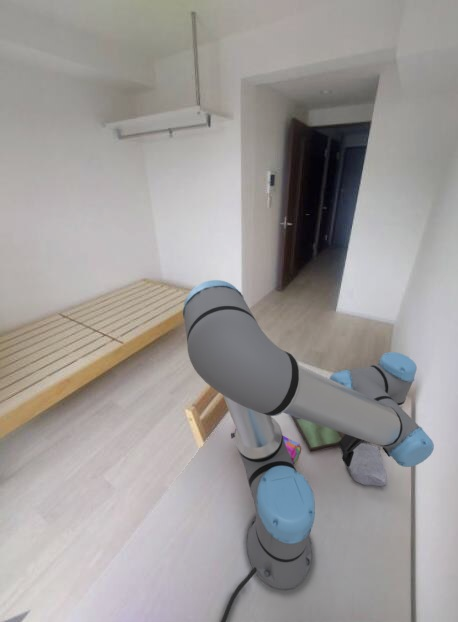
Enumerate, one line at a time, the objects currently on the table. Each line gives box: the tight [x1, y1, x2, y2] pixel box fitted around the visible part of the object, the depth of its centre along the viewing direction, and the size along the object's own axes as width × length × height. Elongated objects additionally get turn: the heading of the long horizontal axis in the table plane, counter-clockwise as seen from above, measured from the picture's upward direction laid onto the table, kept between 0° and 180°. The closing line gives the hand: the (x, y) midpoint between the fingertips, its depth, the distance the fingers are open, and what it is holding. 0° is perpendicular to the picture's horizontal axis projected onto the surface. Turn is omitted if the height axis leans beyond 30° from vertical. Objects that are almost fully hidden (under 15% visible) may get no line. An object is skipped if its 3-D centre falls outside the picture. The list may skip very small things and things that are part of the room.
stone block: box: [347, 442, 387, 487], centre depth 82 cm, size 12×5×10 cm
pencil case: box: [230, 428, 302, 467], centre depth 85 cm, size 22×9×9 cm, turn 55°
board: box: [290, 415, 345, 453], centre depth 99 cm, size 24×24×2 cm
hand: (366, 457), depth 80 cm, fingers open, 13 cm apart
